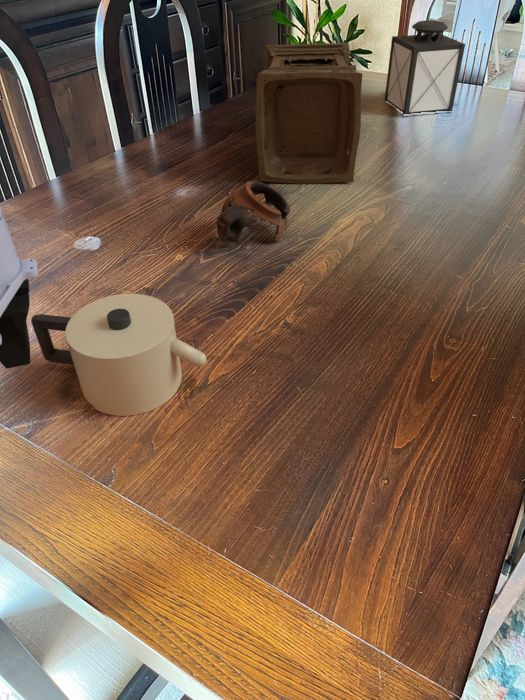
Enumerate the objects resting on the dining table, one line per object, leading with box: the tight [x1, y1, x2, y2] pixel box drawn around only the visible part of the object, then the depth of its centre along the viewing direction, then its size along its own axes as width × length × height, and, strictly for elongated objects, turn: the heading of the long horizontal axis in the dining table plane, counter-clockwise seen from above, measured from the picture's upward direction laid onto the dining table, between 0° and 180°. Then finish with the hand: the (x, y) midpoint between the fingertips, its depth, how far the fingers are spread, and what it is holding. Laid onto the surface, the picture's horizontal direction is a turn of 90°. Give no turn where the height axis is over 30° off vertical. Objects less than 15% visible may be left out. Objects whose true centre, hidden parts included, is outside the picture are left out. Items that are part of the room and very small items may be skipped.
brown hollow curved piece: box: [215, 180, 291, 243], centre depth 77 cm, size 12×10×8 cm
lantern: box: [384, 0, 466, 114], centre depth 114 cm, size 11×11×28 cm
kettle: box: [30, 293, 208, 417], centre depth 52 cm, size 17×10×8 cm, turn 79°
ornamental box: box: [255, 42, 363, 185], centre depth 100 cm, size 35×18×18 cm, turn 177°
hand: (18, 361), depth 49 cm, fingers closed
